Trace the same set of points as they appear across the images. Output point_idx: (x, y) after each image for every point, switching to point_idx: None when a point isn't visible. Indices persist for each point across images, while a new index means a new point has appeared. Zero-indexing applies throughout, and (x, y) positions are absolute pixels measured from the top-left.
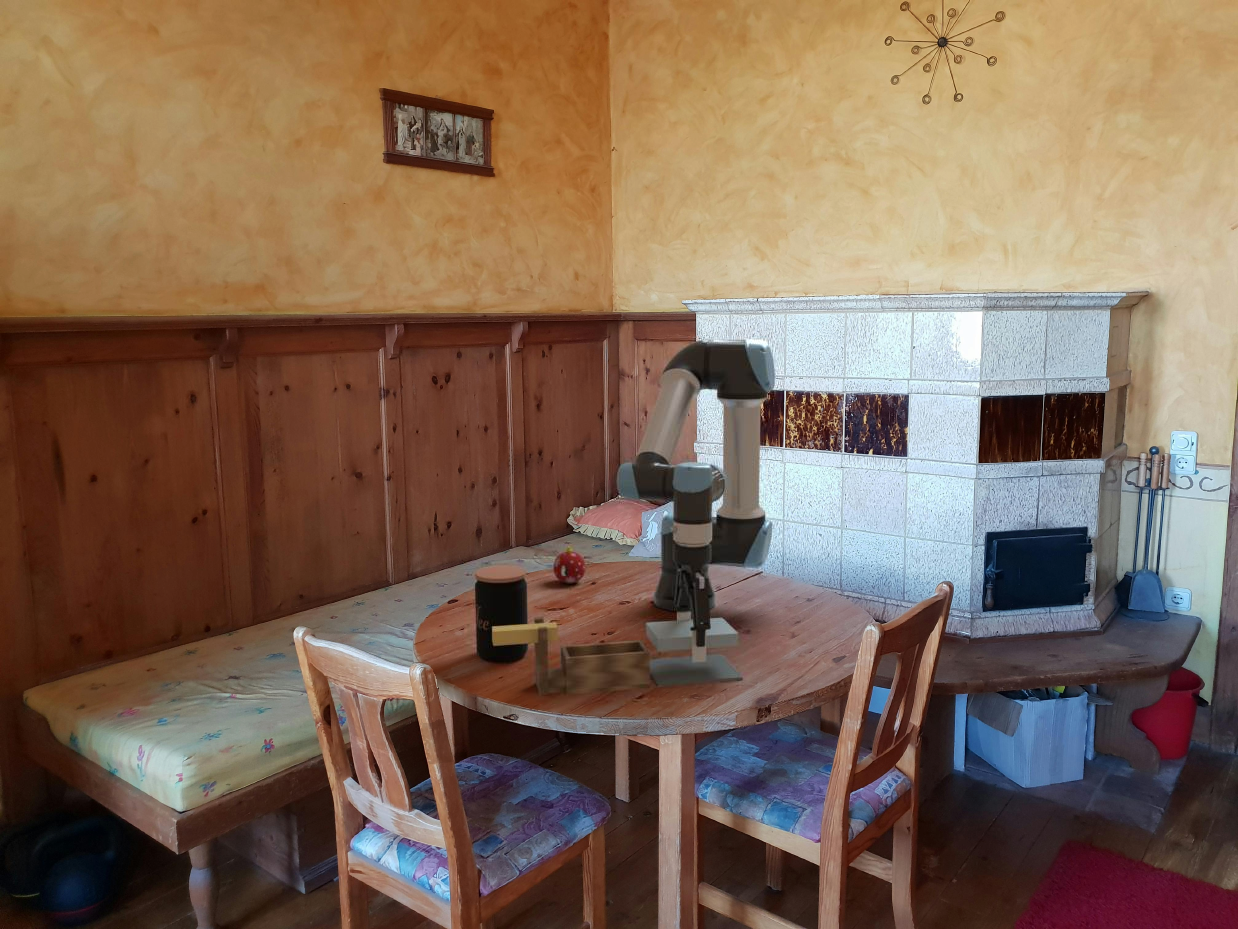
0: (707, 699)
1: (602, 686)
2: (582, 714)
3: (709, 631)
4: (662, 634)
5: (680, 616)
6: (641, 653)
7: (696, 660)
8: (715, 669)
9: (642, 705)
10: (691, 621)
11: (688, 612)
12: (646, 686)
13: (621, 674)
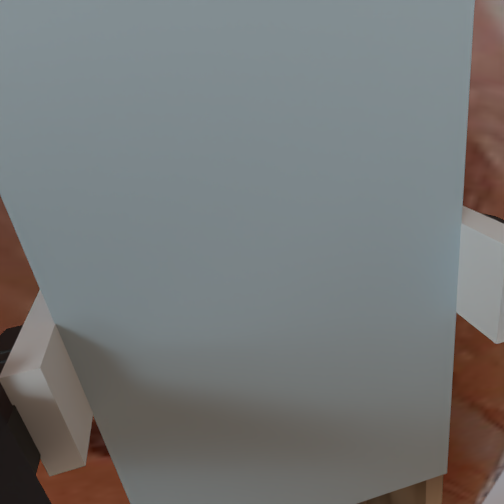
0: (498, 162)
1: None
2: (490, 474)
3: (383, 183)
4: (384, 464)
5: (80, 424)
6: (442, 477)
7: None
8: None
9: (482, 358)
10: (109, 318)
11: (49, 389)
12: None
13: None
